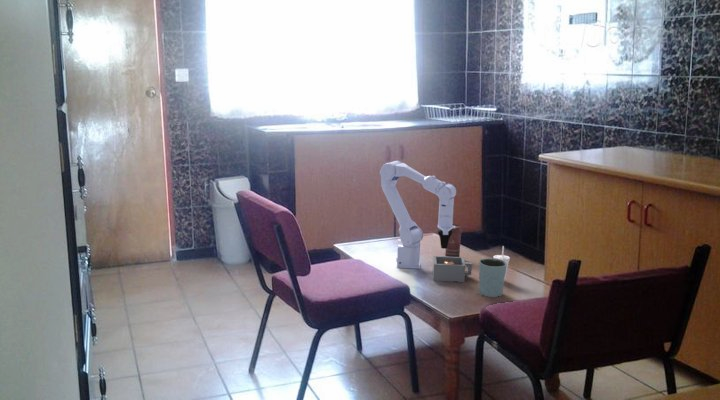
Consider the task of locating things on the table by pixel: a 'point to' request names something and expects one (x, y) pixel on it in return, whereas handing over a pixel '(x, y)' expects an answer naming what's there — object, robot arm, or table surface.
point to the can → (454, 242)
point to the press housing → (450, 269)
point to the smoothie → (503, 259)
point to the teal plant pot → (491, 277)
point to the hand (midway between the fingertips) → (443, 248)
